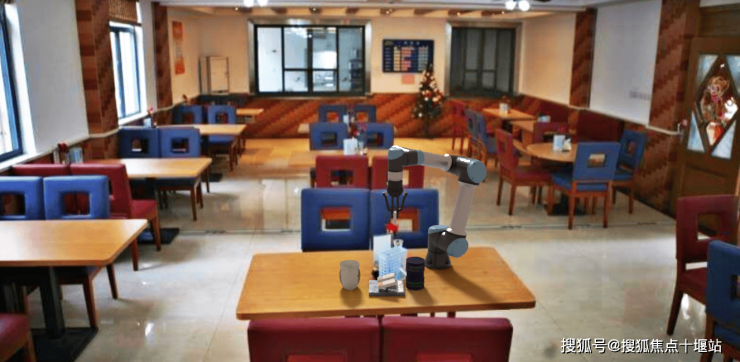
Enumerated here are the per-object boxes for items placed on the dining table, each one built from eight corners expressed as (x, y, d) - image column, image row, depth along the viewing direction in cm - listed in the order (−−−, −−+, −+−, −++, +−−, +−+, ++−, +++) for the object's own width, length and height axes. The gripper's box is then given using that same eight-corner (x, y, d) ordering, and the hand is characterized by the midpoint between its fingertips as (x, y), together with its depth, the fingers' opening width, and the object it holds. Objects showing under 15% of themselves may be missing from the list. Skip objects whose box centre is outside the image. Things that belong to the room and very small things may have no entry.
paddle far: (394, 275, 300) (393, 272, 300) (395, 278, 296) (394, 275, 295) (378, 279, 301) (377, 276, 300) (378, 283, 296) (377, 280, 296)
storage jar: (409, 291, 294) (409, 264, 290) (402, 283, 303) (403, 257, 299) (427, 289, 296) (427, 262, 292) (420, 281, 305) (421, 255, 302)
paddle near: (395, 281, 293) (394, 278, 292) (395, 284, 288) (394, 281, 288) (378, 285, 293) (377, 282, 293) (378, 289, 289) (377, 286, 289)
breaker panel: (403, 283, 303) (403, 277, 302) (404, 296, 288) (404, 289, 287) (369, 283, 303) (369, 277, 302) (368, 296, 288) (368, 289, 288)
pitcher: (360, 279, 308) (360, 255, 305) (360, 293, 291) (360, 268, 288) (340, 279, 308) (339, 255, 305) (338, 293, 291) (338, 268, 288)
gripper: (407, 177, 289) (407, 221, 295) (382, 177, 289) (381, 221, 295) (408, 180, 282) (407, 226, 287) (382, 180, 282) (381, 226, 287)
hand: (394, 224), depth 291 cm, fingers closed
